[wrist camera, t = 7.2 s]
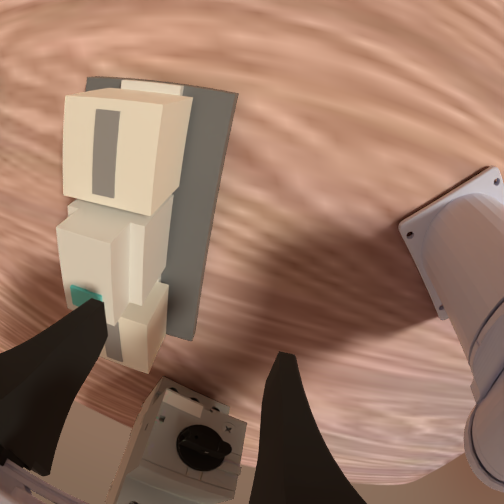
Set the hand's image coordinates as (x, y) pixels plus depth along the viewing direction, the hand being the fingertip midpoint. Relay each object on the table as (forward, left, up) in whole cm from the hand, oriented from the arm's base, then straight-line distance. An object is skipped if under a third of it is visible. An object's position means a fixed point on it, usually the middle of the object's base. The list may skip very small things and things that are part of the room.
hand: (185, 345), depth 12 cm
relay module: (+4, +4, -8) cm, 10 cm away
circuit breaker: (-12, +15, -10) cm, 21 cm away
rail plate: (+4, +4, -9) cm, 11 cm away
